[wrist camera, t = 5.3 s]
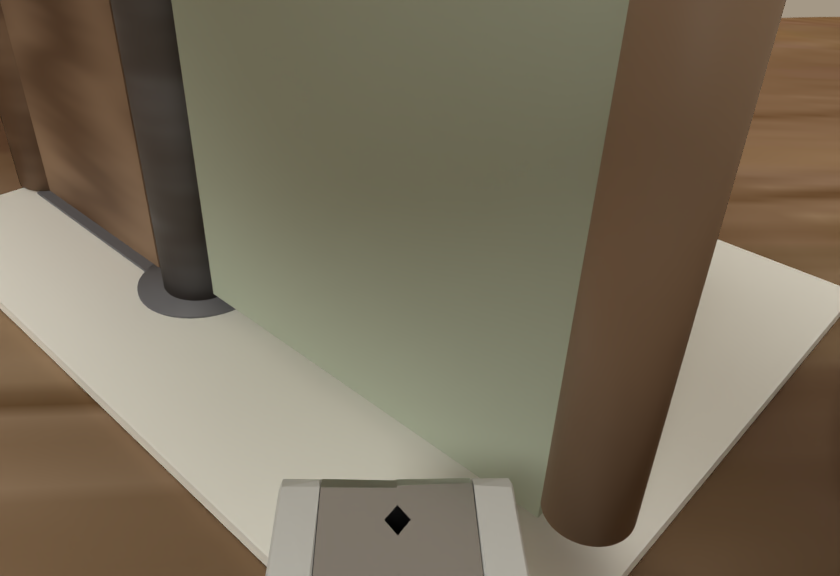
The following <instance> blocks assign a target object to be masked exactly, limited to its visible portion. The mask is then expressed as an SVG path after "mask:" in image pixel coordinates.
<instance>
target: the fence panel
mask: <svg viewBox="0 0 840 576" xmlns="http://www.w3.org/2000/svg"><path fill="white" fill-rule="evenodd" d="M171 2H172V9H173V16H174V23H175V30H176V37H177V44H178V51H179V58H180V65H181V72H182V79H183V86H184V92H185V99H186V106H187V113H188V120H189V127H190V134H191V141H192V148H193V155H194V162H195V169H196V176H197V183H198V190H199V196H200V203H201V210H202V217H203V224H204V231H205V238H206V245H207V252H208V259H209V266H210V273H211V280H212V287H213V294H214V295H216V296H217V297H219V298H220V299H222V300H223V301H224V302H226V303H227V304H229V305H230V306H232V307H233V308H235V309H236V310H237V311H239V312H240V313H242V314H243V315H245V316H246V317H248V318H249V319H251V320H252V321H253V322H255V323H256V324H258V325H259V326H261V327H262V328H264V329H265V330H266V331H268V332H269V333H271V334H272V335H274V336H275V337H277V338H278V339H279V340H281V341H282V342H284V343H285V344H287V345H288V346H290V347H291V348H293V349H294V350H295V351H297V352H298V353H300V354H301V355H303V356H304V357H306V358H307V359H308V360H310V361H311V362H313V363H314V364H316V365H317V366H319V367H320V368H321V369H323V370H324V371H326V372H327V373H329V374H330V375H332V376H333V377H334V378H336V379H337V380H339V381H340V382H342V383H343V384H345V385H346V386H348V387H349V388H350V389H352V390H353V391H355V392H356V393H358V394H359V395H361V396H362V397H363V398H365V399H366V400H368V401H369V402H371V403H372V404H374V405H375V406H376V407H378V408H379V409H381V410H382V411H384V412H385V413H387V414H388V415H389V416H391V417H392V418H394V419H395V420H397V421H398V422H400V423H401V424H403V425H404V426H405V427H407V428H408V429H410V430H411V431H413V432H414V433H416V434H417V435H418V436H420V437H421V438H423V439H424V440H426V441H427V442H429V443H430V444H431V445H433V446H434V447H436V448H437V449H439V450H440V451H442V452H443V453H444V454H446V455H447V456H449V457H450V458H452V459H453V460H455V461H456V462H458V463H459V464H460V465H462V466H463V467H465V468H466V469H468V470H469V471H471V472H472V473H473V474H475V475H476V476H478V477H479V478H509V480H510V481H511V483H512V484H513V489H514V495H515V500H516V503H517V504H518V505H520V506H521V507H523V508H524V509H526V510H527V511H528V512H530V513H531V514H533V515H534V516H536V517H537V518H538V517H539V516H540V515H541V514H542V513H543V514H544V517H545V518H546V520H547V522H548V523H549V524H550V525H551V527H552V528H553V529H554V530H555V531H557V532H558V533H559V534H560V535H562V536H563V537H565V538H567V539H569V540H571V541H573V542H575V543H578V544H581V545H585V546H591V547H606V546H612V545H615V544H618V543H620V542H622V541H623V540H625V539H626V538H627V537H628V536H629V535H630V534H631V533H632V532H633V530H634V528H635V525H636V522H637V518H638V515H639V511H640V508H641V504H642V501H643V497H644V494H645V490H646V487H647V483H648V480H649V477H650V473H651V470H652V466H653V463H654V459H655V456H656V452H657V449H658V445H659V442H660V438H661V435H662V431H663V428H664V424H665V421H666V417H667V414H668V410H669V407H670V403H671V400H672V396H673V393H674V389H675V386H676V382H677V379H678V375H679V372H680V368H681V365H682V361H683V358H684V355H685V351H686V348H687V344H688V341H689V337H690V334H691V330H692V327H693V323H694V320H695V316H696V313H697V309H698V306H699V302H700V299H701V295H702V292H703V288H704V285H705V281H706V278H707V274H708V271H709V267H710V264H711V260H712V257H713V253H714V250H715V246H716V243H717V239H718V236H719V233H720V229H721V226H722V222H723V219H724V215H725V212H726V208H727V205H728V201H729V198H730V194H731V191H732V187H733V184H734V180H735V177H736V173H737V170H738V166H739V163H740V159H741V156H742V152H743V149H744V145H745V142H746V138H747V135H748V131H749V128H750V124H751V121H752V117H753V114H754V111H755V107H756V104H757V100H758V97H759V93H760V90H761V86H762V83H763V79H764V76H765V72H766V69H767V65H768V62H769V58H770V55H771V51H772V48H773V44H774V41H775V37H776V34H777V30H778V27H779V23H780V20H781V16H782V13H783V9H784V6H785V2H786V0H171Z"/></svg>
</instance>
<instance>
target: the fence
mask: <svg viewBox="0 0 840 576" xmlns="http://www.w3.org/2000/svg"><path fill="white" fill-rule="evenodd" d="M0 116H1V119H2V122H3V126H4V129H5V133H6V136H7V140H8V143H9V147H10V150H11V154H12V157H13V161H14V164H15V168H16V171H17V175H18V178H19V182H20V184H21V186H22V187H24V188H26V189H29V190H34V191H51V192H53V193H54V194H56V195H57V196H58V197H60V198H61V199H63V200H64V201H65V202H67V203H68V204H70V205H71V206H73V207H74V208H75V209H77V210H78V211H80V212H81V213H82V214H84V215H85V216H87V217H88V218H89V219H91V220H92V221H94V222H95V223H97V224H98V225H99V226H101V227H102V228H104V229H105V230H106V231H108V232H109V233H111V234H112V235H114V236H115V237H116V238H118V239H119V240H121V241H122V242H123V243H125V244H126V245H128V246H129V247H131V248H132V249H133V250H135V251H136V252H138V253H139V254H140V255H142V256H143V257H145V258H146V259H148V260H149V261H150V262H152V263H153V264H155V265H156V266H157V267H160V268H161V273H162V279H163V284H164V288H165V290H166V291H167V292H168V293H169V294H170V295H172V296H173V297H176V298H179V299H183V300H189V301H200V300H208V299H213V298H216V297H217V296H216V295H214V294H213V287H212V280H211V273H210V266H209V259H208V252H207V245H206V238H205V231H204V224H203V217H202V210H201V203H200V196H199V190H198V183H197V176H196V169H195V162H194V155H193V148H192V141H191V134H190V127H189V120H188V113H187V106H186V99H185V92H184V86H183V79H182V72H181V65H180V58H179V51H178V44H177V37H176V30H175V23H174V16H173V9H172V2H171V0H0Z"/></svg>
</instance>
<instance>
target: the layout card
mask: <svg viewBox="0 0 840 576" xmlns="http://www.w3.org/2000/svg"><path fill="white" fill-rule="evenodd" d="M0 309H1V310H2V311H3V312H4V313H5V314H6V315H7V316H8V317H9V318H10V319H11V320H12V321H13V322H15V323H16V324H17V325H18V326H19V327H20V328H21V329H22V330H23V331H24V332H25V333H26V334H27V335H28V336H29V337H30V338H31V339H32V340H33V341H34V342H35V343H36V344H37V345H38V346H39V347H40V348H41V349H42V350H43V351H44V352H46V353H47V354H48V355H49V356H50V357H51V358H52V359H53V360H54V361H55V362H56V363H57V364H58V365H59V366H60V367H61V368H62V369H63V370H64V371H65V372H66V373H67V374H68V375H69V376H70V377H71V378H72V379H73V380H74V381H75V382H76V383H78V384H79V385H80V386H81V387H82V388H83V389H84V390H85V391H86V392H87V393H88V394H89V395H90V396H91V397H92V398H93V399H94V400H95V401H96V402H97V403H98V404H99V405H100V406H101V407H102V408H103V409H104V410H105V411H106V412H107V413H109V414H110V415H111V416H112V417H113V418H114V419H115V420H116V421H117V422H118V423H119V424H120V425H121V426H122V427H123V428H124V429H125V430H126V431H127V432H128V433H129V434H130V435H131V436H132V437H133V438H134V439H135V440H136V441H137V442H138V443H140V444H141V445H142V446H143V447H144V448H145V449H146V450H147V451H148V452H149V453H150V454H151V455H152V456H153V457H154V458H155V459H156V460H157V461H158V462H159V463H160V464H161V465H162V466H163V467H164V468H165V469H166V470H167V471H168V472H169V473H170V474H172V475H173V476H174V477H175V478H176V479H177V480H178V481H179V482H180V483H181V484H182V485H183V486H184V487H185V488H186V489H187V490H188V491H189V492H190V493H191V494H192V495H193V496H194V497H195V498H196V499H197V500H198V501H199V502H200V503H201V504H203V505H204V506H205V507H206V508H207V509H208V510H209V511H210V512H211V513H212V514H213V515H214V516H215V517H216V518H217V519H218V520H219V521H220V522H221V523H222V524H223V525H224V526H225V527H226V528H227V529H228V530H229V531H230V532H231V533H232V534H233V535H235V536H236V537H237V538H238V539H239V540H240V541H241V542H242V543H243V544H244V545H245V546H246V547H247V548H248V549H249V550H250V551H251V552H252V553H253V554H254V555H255V556H256V557H257V558H258V559H259V560H260V561H261V562H262V563H263V564H264V565H266V566H267V563H268V557H269V550H270V544H271V537H272V531H273V524H274V518H275V511H276V505H277V498H278V492H279V488H280V485H281V483H282V480H283V479H352V480H396V479H445V478H470V480H471V479H473V478H479V477H478V476H476V475H475V474H473V473H472V472H471V471H469V470H468V469H466V468H465V467H463V466H462V465H460V464H459V463H458V462H456V461H455V460H453V459H452V458H450V457H449V456H447V455H446V454H444V453H443V452H442V451H440V450H439V449H437V448H436V447H434V446H433V445H431V444H430V443H429V442H427V441H426V440H424V439H423V438H421V437H420V436H418V435H417V434H416V433H414V432H413V431H411V430H410V429H408V428H407V427H405V426H404V425H403V424H401V423H400V422H398V421H397V420H395V419H394V418H392V417H391V416H389V415H388V414H387V413H385V412H384V411H382V410H381V409H379V408H378V407H376V406H375V405H374V404H372V403H371V402H369V401H368V400H366V399H365V398H363V397H362V396H361V395H359V394H358V393H356V392H355V391H353V390H352V389H350V388H349V387H348V386H346V385H345V384H343V383H342V382H340V381H339V380H337V379H336V378H334V377H333V376H332V375H330V374H329V373H327V372H326V371H324V370H323V369H321V368H320V367H319V366H317V365H316V364H314V363H313V362H311V361H310V360H308V359H307V358H306V357H304V356H303V355H301V354H300V353H298V352H297V351H295V350H294V349H293V348H291V347H290V346H288V345H287V344H285V343H284V342H282V341H281V340H279V339H278V338H277V337H275V336H274V335H272V334H271V333H269V332H268V331H266V330H265V329H264V328H262V327H261V326H259V325H258V324H256V323H255V322H253V321H252V320H251V319H249V318H248V317H246V316H245V315H243V314H242V313H240V312H239V311H237V310H236V309H235V308H233V307H232V306H230V305H229V304H227V303H226V302H224V301H223V300H222V299H220V298H219V297H216V298H213V299H208V300H200V301H189V300H183V299H179V298H176V297H173V296H172V295H170V294H169V293H168V292H167V291H166V290H165V288H164V284H163V279H162V273H161V268H160V267H157V266H156V265H155V264H153V263H152V262H150V261H149V260H148V259H146V258H145V257H143V256H142V255H140V254H139V253H138V252H136V251H135V250H133V249H132V248H131V247H129V246H128V245H126V244H125V243H123V242H122V241H121V240H119V239H118V238H116V237H115V236H114V235H112V234H111V233H109V232H108V231H106V230H105V229H104V228H102V227H101V226H99V225H98V224H97V223H95V222H94V221H92V220H91V219H89V218H88V217H87V216H85V215H84V214H82V213H81V212H80V211H78V210H77V209H75V208H74V207H73V206H71V205H70V204H68V203H67V202H65V201H64V200H63V199H61V198H60V197H58V196H57V195H56V194H54V193H53V192H51V191H34V190H29V189H26V188H21V189H18V190H15V191H11V192H8V193H5V194H2V195H0ZM839 317H840V286H839V285H836V284H833V283H831V282H828V281H825V280H823V279H820V278H818V277H815V276H812V275H810V274H807V273H804V272H802V271H799V270H797V269H794V268H791V267H789V266H786V265H783V264H781V263H778V262H776V261H773V260H770V259H768V258H765V257H762V256H760V255H757V254H755V253H752V252H749V251H747V250H744V249H742V248H739V247H736V246H734V245H731V244H728V243H726V242H723V241H721V240H718V239H717V243H716V246H715V250H714V253H713V257H712V260H711V264H710V267H709V271H708V274H707V278H706V281H705V285H704V288H703V292H702V295H701V299H700V302H699V306H698V309H697V313H696V316H695V320H694V323H693V327H692V330H691V334H690V337H689V341H688V344H687V348H686V351H685V355H684V358H683V361H682V365H681V368H680V372H679V375H678V379H677V382H676V386H675V389H674V393H673V396H672V400H671V403H670V407H669V410H668V414H667V417H666V421H665V424H664V428H663V431H662V435H661V438H660V442H659V445H658V449H657V452H656V456H655V459H654V463H653V466H652V470H651V473H650V477H649V480H648V483H647V487H646V490H645V494H644V497H643V501H642V504H641V508H640V511H639V515H638V518H637V522H636V525H635V528H634V530H633V532H632V533H631V534H630V535H629V536H628V537H627V538H626V539H625V540H623V541H622V542H620V543H618V544H615V545H612V546H606V547H591V546H585V545H581V544H578V543H575V542H573V541H571V540H569V539H567V538H565V537H563V536H562V535H560V534H559V533H558V532H557V531H555V530H554V529H553V528H552V527H551V525H550V524H549V523H548V522H547V520H546V518H545V517H544V514H543V513H542V514H541V515H540V516H539V517H538V518H537V517H536V516H534V515H533V514H531V513H530V512H528V511H527V510H526V509H524V508H523V507H521V506H520V505H518V504H517V503H516V506H517V511H518V517H519V522H520V528H521V533H522V539H523V544H524V550H525V555H526V561H527V566H528V572H529V576H628V574H629V573H630V572H631V571H632V570H633V568H634V567H635V566H636V565H637V563H638V562H639V561H640V560H641V559H642V557H643V556H644V555H645V554H646V552H647V551H648V550H649V549H650V548H651V546H652V545H653V544H654V543H655V542H656V540H657V539H658V538H659V537H660V535H661V534H662V533H663V532H664V531H665V529H666V528H667V527H668V526H669V524H670V523H671V522H672V521H673V520H674V518H675V517H676V516H677V515H678V513H679V512H680V511H681V510H682V509H683V507H684V506H685V505H686V504H687V502H688V501H689V500H690V499H691V498H692V496H693V495H694V494H695V493H696V492H697V490H698V489H699V488H700V487H701V485H702V484H703V483H704V482H705V481H706V479H707V478H708V477H709V476H710V474H711V473H712V472H713V471H714V470H715V468H716V467H717V466H718V465H719V463H720V462H721V461H722V460H723V459H724V457H725V456H726V455H727V454H728V452H729V451H730V450H731V449H732V448H733V446H734V445H735V444H736V443H737V441H738V440H739V439H740V438H741V437H742V435H743V434H744V433H745V432H746V431H747V429H748V428H749V427H750V426H751V424H752V423H753V422H754V421H755V420H756V418H757V417H758V416H759V415H760V413H761V412H762V411H763V410H764V409H765V407H766V406H767V405H768V404H769V402H770V401H771V400H772V399H773V398H774V396H775V395H776V394H777V393H778V391H779V390H780V389H781V388H782V387H783V385H784V384H785V383H786V382H787V380H788V379H789V378H790V377H791V376H792V374H793V373H794V372H795V371H796V370H797V368H798V367H799V366H800V365H801V363H802V362H803V361H804V360H805V359H806V357H807V356H808V355H809V354H810V352H811V351H812V350H813V349H814V348H815V346H816V345H817V344H818V343H819V341H820V340H821V339H822V338H823V337H824V335H825V334H826V333H827V332H828V330H829V329H830V328H831V327H832V326H833V324H834V323H835V322H836V321H837V319H838V318H839Z"/></svg>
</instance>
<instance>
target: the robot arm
mask: <svg viewBox="0 0 840 576" xmlns="http://www.w3.org/2000/svg"><path fill="white" fill-rule="evenodd" d="M266 576H529V572H528V566H527V561H526V555H525V550H524V544H523V539H522V533H521V528H520V522H519V517H518V511H517V506H516V500H515V495H514V489H513V484H512V483H511V481H510V480H509V478H473V479H471V480H470V478H445V479H396V480H352V479H283V480H282V483H281V485H280V488H279V492H278V498H277V505H276V511H275V518H274V524H273V531H272V537H271V544H270V550H269V557H268V563H267V570H266Z"/></svg>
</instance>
